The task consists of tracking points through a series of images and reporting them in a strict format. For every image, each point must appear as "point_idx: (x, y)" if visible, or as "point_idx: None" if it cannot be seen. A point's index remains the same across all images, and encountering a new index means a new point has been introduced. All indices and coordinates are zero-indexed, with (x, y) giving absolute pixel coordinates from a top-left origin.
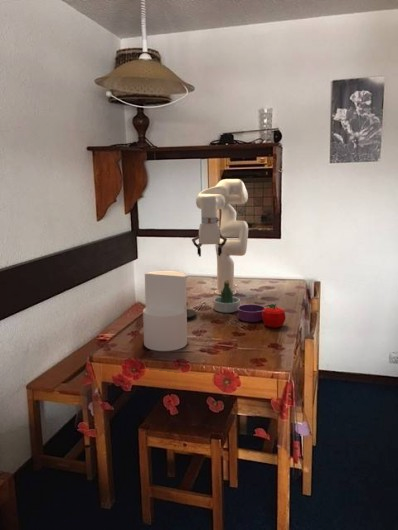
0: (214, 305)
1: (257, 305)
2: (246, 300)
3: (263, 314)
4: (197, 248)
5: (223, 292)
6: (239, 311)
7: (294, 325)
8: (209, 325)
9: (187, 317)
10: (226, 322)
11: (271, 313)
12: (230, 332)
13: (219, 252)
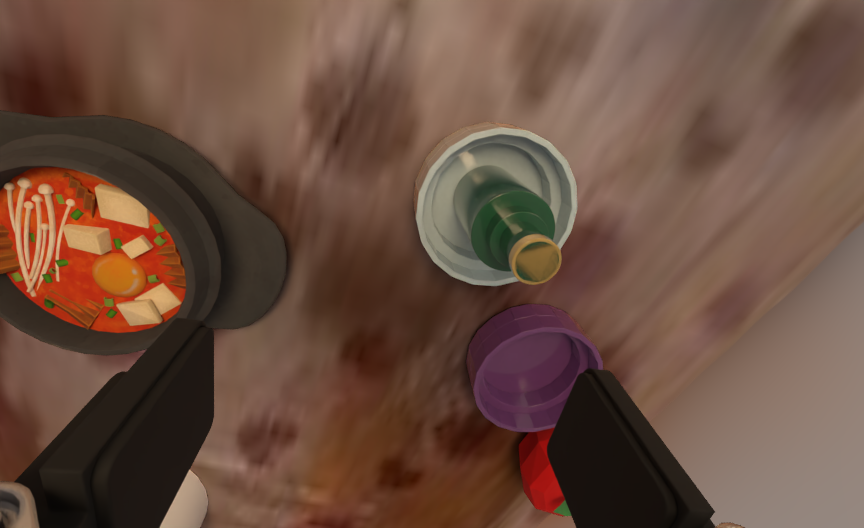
0: (414, 204)
1: (590, 348)
2: (688, 46)
3: (525, 480)
4: (11, 499)
5: (477, 255)
6: (472, 387)
7: None
8: (323, 386)
9: (228, 326)
10: (403, 371)
11: (543, 510)
12: (377, 460)
13: (574, 508)
